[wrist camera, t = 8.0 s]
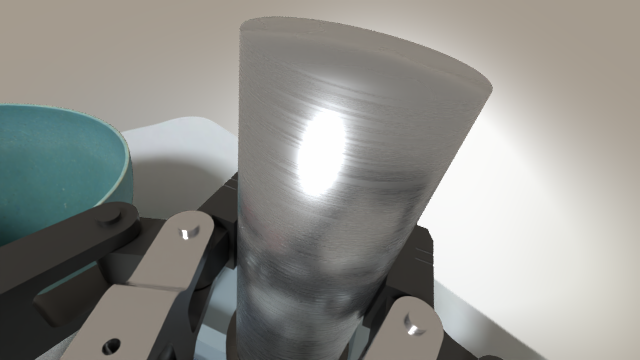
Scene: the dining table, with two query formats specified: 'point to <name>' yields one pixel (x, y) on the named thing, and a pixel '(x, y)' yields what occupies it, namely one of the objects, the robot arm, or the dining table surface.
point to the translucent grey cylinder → (333, 174)
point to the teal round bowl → (57, 169)
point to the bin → (219, 315)
